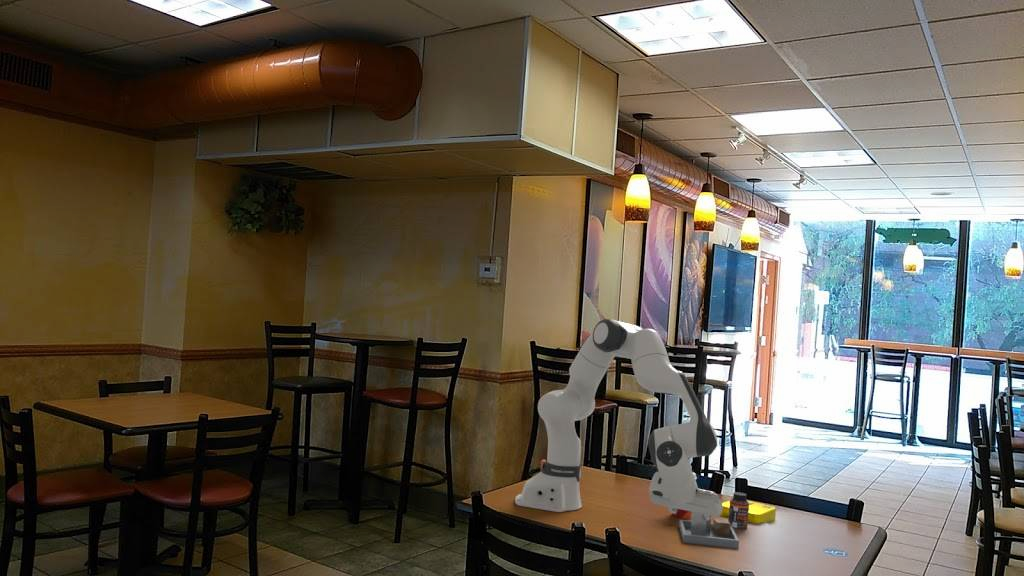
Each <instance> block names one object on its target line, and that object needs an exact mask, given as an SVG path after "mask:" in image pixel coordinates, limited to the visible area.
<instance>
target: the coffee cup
mask: <svg viewBox="0 0 1024 576" xmlns="http://www.w3.org/2000/svg"><path fill="white" fill-rule="evenodd" d="M692 472H693V474H694V477H695V480H697V479H698V477H697V473H695V472H694V471H692ZM671 514H672V516H673V517H675V518H678V519H683V520H687V519H692V512H691V511H687V510H682V509H678V510H677V513H676V514H674V513H671Z"/></svg>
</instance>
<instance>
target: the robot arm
mask: <svg viewBox="0 0 1024 576" xmlns="http://www.w3.org/2000/svg"><path fill="white" fill-rule="evenodd" d="M579 349H580V350H579V351H578V353H577V355H576V356H575V358H574V360H573V361H572V363H571V365H570V367H569V369H568V371H569V373H568V374H569V380H568V383H567V385H566V386H565V388H564V389H556V390H552V391H549V392H547V393H545V394H544V395H542V396H541V397H540V398H539V400H538V403H537V412H538V416H540V418H541V419H542V420H543V422H544V425H545V429H546V433H547V457H546V458H547V459H541V461H540V469H539V470H540V472H539V473H536V474H535V475H533V476H532V477H531V478H529V479H528V480H526V482H525V483H524V485H523V488H522V492H521V493H519V494H518V495H516V496H515V499H514V502H515V504H516V505H517V506H520V507H527V508H531V509H532V508H533V509H538V510H545V511H550V512H556V513H563V512H567V511H575V510H579V509H581V508H582V499H581V493H580V481H581V474H582V467H581V466H582V464H581V463H580V461H581V451H582V447H581V446H582V443H581V439H580V437H578V434H577V432H576V427H575V426H576V425H575V422H577V421H582V420H584V419H586V418H588V417H590V416H591V414H593V412H594V411H595V408H596V400H595V397H596V393H597V390H598V387H599V385H600V383H601V381H602V379H603V378H604V376H605V374H606V373H607V371H608V369H609V367H610V365H611V364H612V362H613V360H614V358H615V357H618V358H625V359H630V360H631V366H632V370H633V374H634V377H635V379H636V382H637V383H638V384H639V385H640V386H641V387H642V388H644V389H645V390H647V391H650V392H653V393H659V394H668V395H672V396H673V395H674V396H676V397H679V398H680V399H681V401H682V402H683V404H684V406H685V409H686V411H687V412H688V414H689V417H690V420H689V421H688V422H683V423H679V424H674V425H668V426H664V427H661V428H660V427H659V428H656V429H653V431H652V432H651V434H650V436H649V438H648V440H647V442H648V443H647V444H648V450H649V456H650V458H651V461H652V463H653V465H654V466H655V468H657V471H656V472H655V473H654V474H653V476H652V479H651V481H650V485H649V488H648V492H649V493H648V494H649V498H650V502H651V503H653V504H655V505H659V506H662V507H663V506H664V507H665V508H667V510H669V511H670V513H671V514H672V513H674V514H676V513H677V510H678V509H682V510H687V511H691V512H696V513H701V514H703V515H702V518H703V520H707V521H708V520H709V516H711V517H715V518H717V517H718V518H719V517H721V516H720V515H721V512H722V508H723V505H722V503H723V502H722V500H721V499H720V496H719V495H718V494H717V493H716V492H715V491H711V490H708V489H707V490H706V489H704V488H703V489H701V488H699V487H698V484H697V481H696V480H697V479H696V480H695V477H694V474H693V472H694V471H693V470H692V467H693V466H692V465H691V461H690V459H692V458H696V457H697V458H700V457H708V456H711V455H712V454H713V452H715V451H716V448H717V447H718V437H717V433H716V431H715V429H714V427H713V425H712V424H711V422H710V421H709V420H708V418H707V417H706V414H705V412H704V410H703V407H702V405H701V404H700V402H699V399H698V397H697V395H696V393H695V391H694V389H693V387H692V386H691V383H690V381H689V380H688V378H687V376H686V375H685V373H684V372H683V371H682V370H681V371H680V370H679V369H678V370H677V369H676V368H675V367H674V366H673V365H672V363H671V362H670V359H669V358H670V357H669V354H668V352H667V349H666V346H665V343H664V341H663V338H662V337H661V335H660V334H659V333H658V331H656V330H655V329H652V328H643V327H641V326H639V325H636V324H633V323H630V322H624V321H619V320H617V319H614V318H612V319H611V318H604V319H601V320H600V321H598V322H597V324H596V325H595V327H594V329H593V331H592V332H591V333H590V334H589V336H588V337H587V338H586V339H585V341H584V343H583V344H582V345H581V348H579Z"/></svg>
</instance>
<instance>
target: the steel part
mask: <svg viewBox="0 0 1024 576" xmlns="http://www.w3.org/2000/svg"><path fill="white" fill-rule="evenodd" d="M702 515H703V514H701V513H696V512H692V514H691V520H690V521H691V535H699V536H710V526H711V523H712V516H709V520H708V521H707V520H703V518H702Z"/></svg>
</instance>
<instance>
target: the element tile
mask: <svg viewBox="0 0 1024 576" xmlns="http://www.w3.org/2000/svg"><path fill="white" fill-rule="evenodd" d="M730 500H731V499H729V500H726V501H723V502H722V505H723V508H722V512H721V515H720V516H719V517H723V518H724V517H725V518H726V517H727V518H729V505H730ZM746 500H747V499H746ZM747 501H748V503H749V513H748V523H752V524H756V525H757V524H758V525H760V524H763V523H766V524H770V523H771V522H774V521H776V514H777V513H776V512H777V508H776V507H775V506H773V505H767V504H764V503H759V502H755V501H752V500H747Z"/></svg>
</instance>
